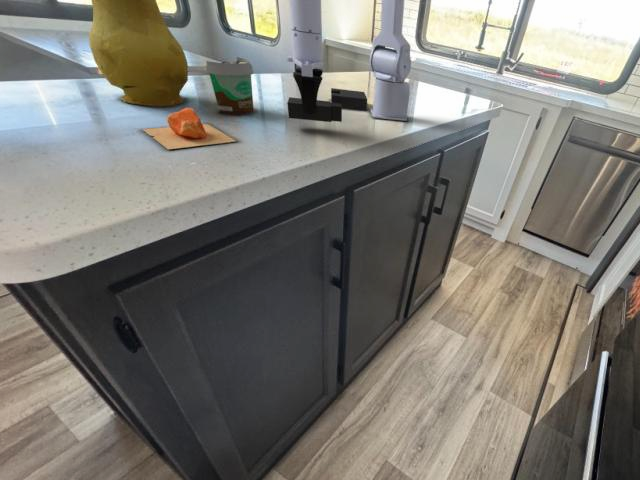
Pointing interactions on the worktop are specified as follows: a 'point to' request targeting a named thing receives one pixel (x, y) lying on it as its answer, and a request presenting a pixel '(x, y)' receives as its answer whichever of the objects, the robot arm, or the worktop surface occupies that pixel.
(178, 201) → the worktop surface
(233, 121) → the worktop surface
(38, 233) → the worktop surface
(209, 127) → the rock
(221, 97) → the food container
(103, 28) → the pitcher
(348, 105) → the graphite pad
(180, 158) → the worktop surface
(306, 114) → the black pad
